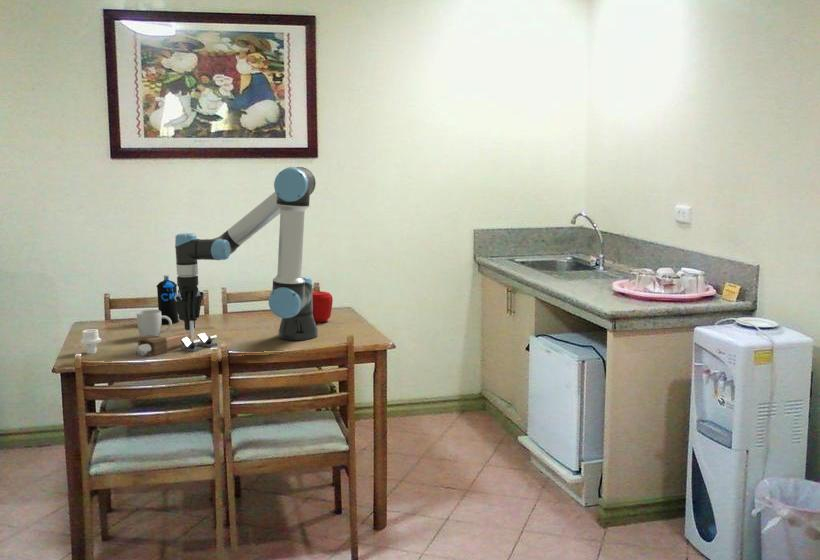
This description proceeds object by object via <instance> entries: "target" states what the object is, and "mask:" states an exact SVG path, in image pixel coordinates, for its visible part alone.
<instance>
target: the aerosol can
mask: <svg viewBox="0 0 820 560" xmlns="http://www.w3.org/2000/svg"><path fill="white" fill-rule="evenodd" d="M156 288H157V289H156V290H157V292H156V293H157V306H158V307H157V308H158V309H157V310H160V311H161V316H167V317H169V318H170V319H171V321H172V325H173V324H174V325H175V324H178V323H179V322H180V319H179V315H178V311H177V307H176V303H175V301H174V299H173V296H176V295H177V294H178V290H177V288H178V285H177V283H175V282H174V281H172V280H170V277H169V274H165V275H163V280H162V281H160V282H159V283H158V284H157V285H156ZM162 325H167V326H168V325H169V321H168V320H167V319H164V318H162Z"/></svg>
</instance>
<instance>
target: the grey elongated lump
mask: <svg viewBox="0 0 820 560" xmlns="http://www.w3.org/2000/svg"><path fill="white" fill-rule="evenodd" d="M136 351H137V353H138V354H137V355H138V356H139V357H147V353H150V352H153V342H151V343H147V344H143V345H139V346H138V345H137V348H136Z"/></svg>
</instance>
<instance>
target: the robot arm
mask: <svg viewBox="0 0 820 560" xmlns="http://www.w3.org/2000/svg"><path fill="white" fill-rule="evenodd" d="M273 182H274V183H273V188H274V192H272V193H271V195H269V196H268V197H267V198H265V199H264V200H263V201H262V202H261V203H260V202H259V204H258V205H256V206H255V207H254V208H253V209H251V211H249V212H248V213H247V214H246V215H244V216H243V217H242V218H241V219H240V220H238V221H237V222H235V223H234V224H233V225H232V226H231V227H230V228H228V229H227V230H226V231H224V232H223V233H222V234H221V235H220V236H218V237H217V236H216V237H215V238H208V239H206V238H204V239H200V238H199V239H198V238H197V235H196V233H194V232H192V233H191V232H189V233H188V232H185V233H178V234H176V235H175V239H174V240H175V243H174V245H175V246H174V248H175V259H176V260H175V261H176V265H175V266H176V275H177V276H176V284H177V288H178V290H177V295H176V296H173V299H174V301H175V303H176V307H177V311H178V320H179V321H183V322H184V330H185V334H189V340H190V339H195V329H196V321H197V320H198V319H199V318H200V315H201V314H200V311H201V305H202V299H203V296H204V294H205V293H204V292H203V291H200V290H199V288H198V286H199V276H198V274H199V271H198V270H199V267H198V261H200V260H203V261H204V260H205V261H207V260H208V261H209V260H211V261H225V260H228V259H229V257H230V256H231V255H232V254H233V253H234V252H236V251H237V249H238V248H240V247H241V246H242V245H243V244H244V243H245V242H247V240H249V239H250V238H251V237H253V236H254V235H256V234H257V233H258V232H259V231H260V230H262V229H263V228H264V227H266V226H267V225H268V224H269V223H270V222H272V221H273V220H274V219H276V218H277V217H280V218H279V235H278V251H277V252H278V253H277V255H278V256H277V257H278V258H277V275H276V276H275V277H274V278H272V289H271V293H270V294H269V297H268V306H269V309H270V312H272V314H274V315H275V316H276V317H278V318H281V321H280V324H279V329H278V334H277V335H278V338H279V339H282V340H286V341H287V340H288V341H303V340H310V339H311V340H312V339H314V338H317V337H318V335H319V329H318V327H317V324H316V322H315V321H314V318H313V298H312V292H313V287H314V285H313V280H312V278H311V277H307V276H306V277H305V276H302V270H303V269H302V267H303V266H302V265H303V250H304V249H303V248H304V246H303V245H304V229H305V228H304V227H305V212H306V210H307V209H309V207H310V200H311V199H310V197H311V195H312V194H313V192H314V191H315V189H316V184H317V183H316V178H315V176H314V174H313V172H312V171H311V170H310V169H308V168H307V167H303V166H296V167H295V166H291V167H286V168H284V169H282V170H281V171H279V172H278V174H277V175H276V176H275V178H274V181H273Z"/></svg>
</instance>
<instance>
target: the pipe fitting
mask: <svg viewBox="0 0 820 560" xmlns="http://www.w3.org/2000/svg"><path fill="white" fill-rule="evenodd" d="M81 332H82V338H81V339H79V341H80V344H82V345H86V346H85V347H86V349H85V350H86V354H88V355H93V354H96V353H97V344H99V343H101V342H102V339H101V338H100V337H99V330H98V329H97V328H96V329H95V328H92V329H90V328H89V329H85V330H82V331H81Z"/></svg>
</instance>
